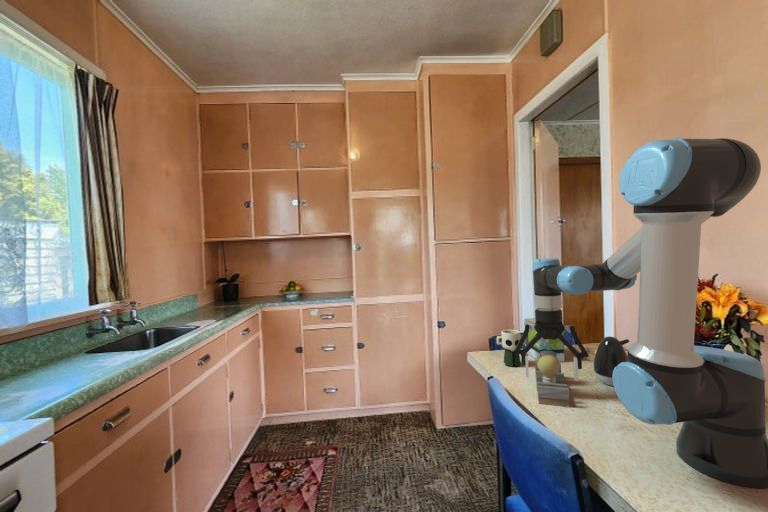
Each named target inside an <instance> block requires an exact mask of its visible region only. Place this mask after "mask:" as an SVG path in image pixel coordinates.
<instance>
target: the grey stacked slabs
mask: <svg viewBox="0 0 768 512" xmlns="http://www.w3.org/2000/svg"><path fill="white" fill-rule="evenodd" d="M543 354H551V355H553V356H555V357H557V354H556V352H553V351H541V352H540V356H541V355H543ZM561 365H562V364H561V363H560V369H559V371H558V373H557V374H556V375H555V377H556V384H555V383H544V382H543V381H542V379H543V378H542V376H543V374H542V373H541V372H540V370H539V369H538V366H537V361H534V367H535V368H534V369H535V382H536V391H537V392H536V393H537V399H538V401H537V402H538V405H547V406H556V407H565V408H566V407H567V408H570V407H571V406H570V390H569V389H570V388H569V386H568V384H567V383H566V384H565V374H564V372H562V366H561Z"/></svg>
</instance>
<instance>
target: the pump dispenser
mask: <svg viewBox="0 0 768 512" xmlns="http://www.w3.org/2000/svg"><path fill="white" fill-rule="evenodd" d="M628 343H630V340H629V339H628V338H626V339H623V340H619V339H618V338H617V337H615V336H605V337H603V338H602V340H601V341H600V342H599V343H598V345H597V347H598V348H597V351H596V354H595V353H594V355H595V359H594V361H593V372H594V373H595V376H596V378H597V379H598V380H599V381H600V382H601V383H603V384H604V385H608V386H612V387H614V385H613V379H612V375H613V370H614V368H615V367H616V366H618V364H620V363H622V362H627V355H628V353H627V351H626V350H625V348H624V346H623V345H626V344H628Z"/></svg>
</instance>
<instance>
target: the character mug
mask: <svg viewBox="0 0 768 512" xmlns="http://www.w3.org/2000/svg"><path fill="white" fill-rule="evenodd" d="M521 336H522V334H521V331H520V330H517V329H502V330H501V335H498V336H496V345H498V346H499V345H501V347H502V348H503V349H504V351H503V352H504V354H503V363H504V365H506V366H510V367H513V366H514V365H515V367H518V366H520V365H522V361H521V355H520V354H518V353H515V348H516V346H517V344H518V342H519V340H520V338H521ZM500 339H501V341H500ZM525 344H526V339H525V341H524V343H523V345H525Z"/></svg>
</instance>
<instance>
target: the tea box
mask: <svg viewBox="0 0 768 512" xmlns="http://www.w3.org/2000/svg"><path fill="white" fill-rule="evenodd" d="M523 321H524V325H525V324H526V323H528V324H532V325H535V318H534V317H532V318H531V317H530V318H524V320H523ZM564 332H565V330H564V331H563V332H562V335H563V336H564V337H565V333H564ZM536 334H537V331H536V330H535V329H532V330H531V331H529V333H528V335H527V337H526V344H524V347H525V346H526V345H527V344H528V343H529V342H530V341H531V339H532V338H533V337H534V336H535V335H536ZM541 351H553V352H556V354H557V359H558V360H559V363H563V362H565V344H564V343H563V342H562V341H561V340H560V339H559V338H557V339H555V340H552V339H543V338H541V339H540V340H539V341H537V342H536V344H535V345H534V346H533V347H532V348H531V349H530V350H529V351H528V352H527V353H526V354H528V355H530V356H531V357H532V358H534V360H538V358H539V357H540V352H541Z"/></svg>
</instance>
